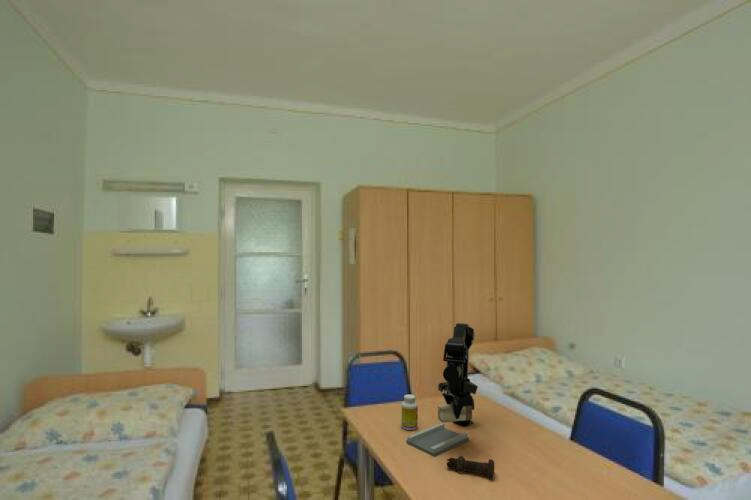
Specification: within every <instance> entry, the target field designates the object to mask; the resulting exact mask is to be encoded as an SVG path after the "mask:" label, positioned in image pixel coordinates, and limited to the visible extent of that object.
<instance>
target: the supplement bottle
mask: <svg viewBox="0 0 751 500" xmlns="http://www.w3.org/2000/svg"><path fill="white" fill-rule="evenodd" d="M403 400H404V401H402V402H401V415H400V416H401V417H400V418H401V420H400V421H401V425H400V427H401V429H403V430H406V431H414V430H416V429H417V428H418V426H419V425H418V412H419V409H418V407H419V405H418V403H417V401H416V396H415V395H414V394H405V395H404V396H403Z"/></svg>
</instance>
